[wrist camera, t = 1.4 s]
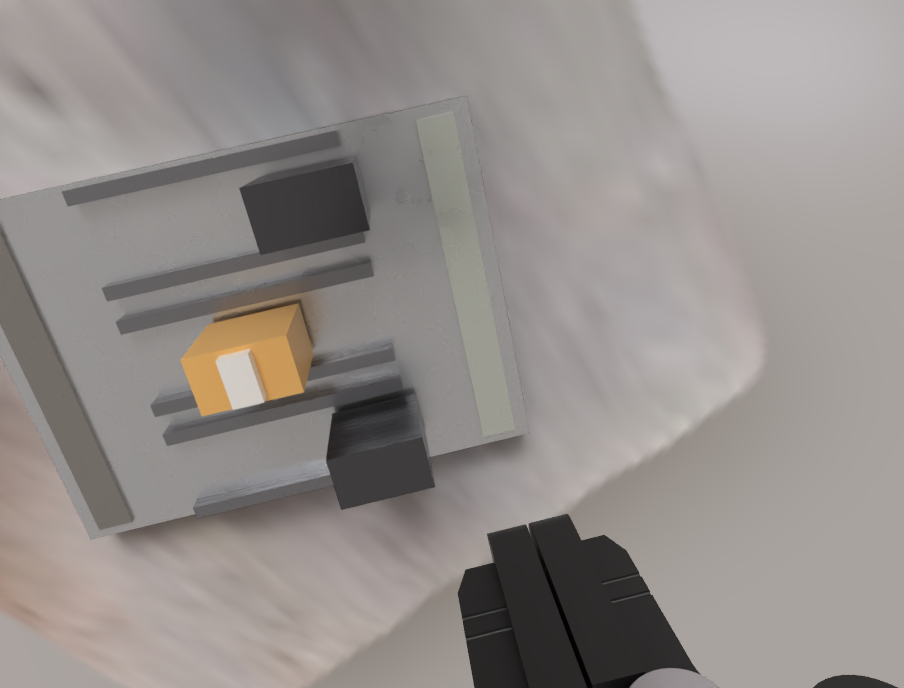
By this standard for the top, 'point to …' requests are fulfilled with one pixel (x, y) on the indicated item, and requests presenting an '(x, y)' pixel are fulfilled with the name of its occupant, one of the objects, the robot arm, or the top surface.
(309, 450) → the breaker panel
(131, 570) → the top surface
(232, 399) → the toggle
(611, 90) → the top surface
